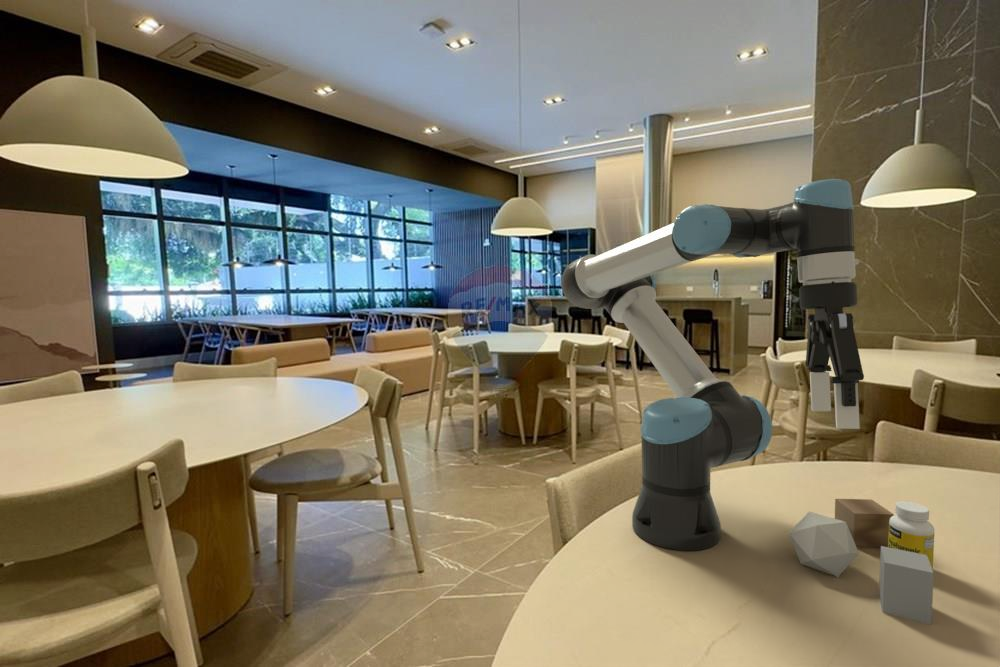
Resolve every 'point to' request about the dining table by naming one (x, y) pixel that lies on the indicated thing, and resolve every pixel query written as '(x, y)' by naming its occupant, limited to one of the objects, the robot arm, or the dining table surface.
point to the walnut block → (865, 521)
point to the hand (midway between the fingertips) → (833, 419)
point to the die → (823, 543)
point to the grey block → (906, 584)
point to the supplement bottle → (912, 529)
